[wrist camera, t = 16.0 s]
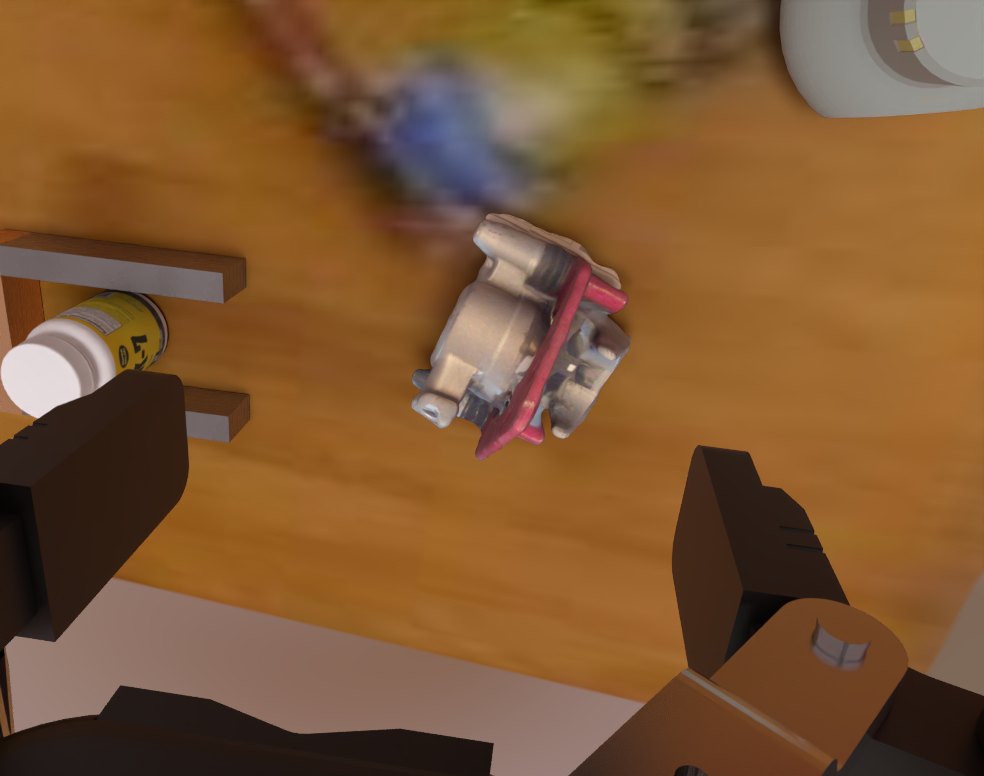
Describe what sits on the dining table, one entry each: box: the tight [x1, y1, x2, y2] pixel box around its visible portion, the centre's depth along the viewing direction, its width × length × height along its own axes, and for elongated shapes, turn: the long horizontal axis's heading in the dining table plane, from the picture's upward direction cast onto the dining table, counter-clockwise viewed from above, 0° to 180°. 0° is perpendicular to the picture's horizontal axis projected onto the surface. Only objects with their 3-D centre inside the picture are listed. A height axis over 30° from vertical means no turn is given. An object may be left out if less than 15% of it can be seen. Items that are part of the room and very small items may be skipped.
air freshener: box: [780, 0, 984, 118], centre depth 31 cm, size 11×8×10 cm
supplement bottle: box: [1, 289, 168, 418], centre depth 42 cm, size 5×5×8 cm
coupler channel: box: [0, 229, 250, 442], centre depth 44 cm, size 10×14×3 cm
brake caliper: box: [412, 213, 631, 460], centre depth 40 cm, size 11×11×12 cm
